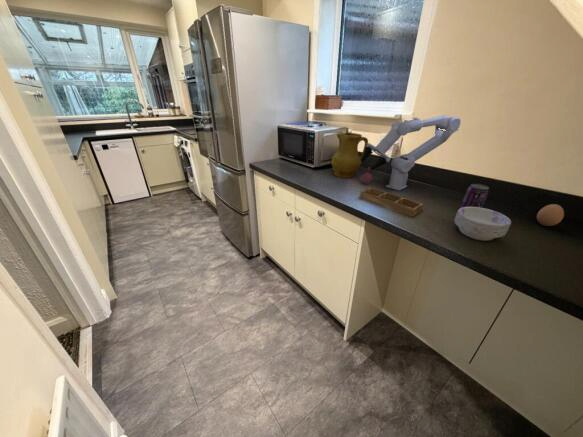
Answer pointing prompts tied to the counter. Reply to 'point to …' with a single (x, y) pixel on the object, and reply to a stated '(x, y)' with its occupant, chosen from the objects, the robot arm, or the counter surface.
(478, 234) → the paper bowls
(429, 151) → the robot arm
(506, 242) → the counter surface
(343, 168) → the pitcher
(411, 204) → the tray
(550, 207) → the egg
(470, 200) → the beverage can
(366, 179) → the vegetable
